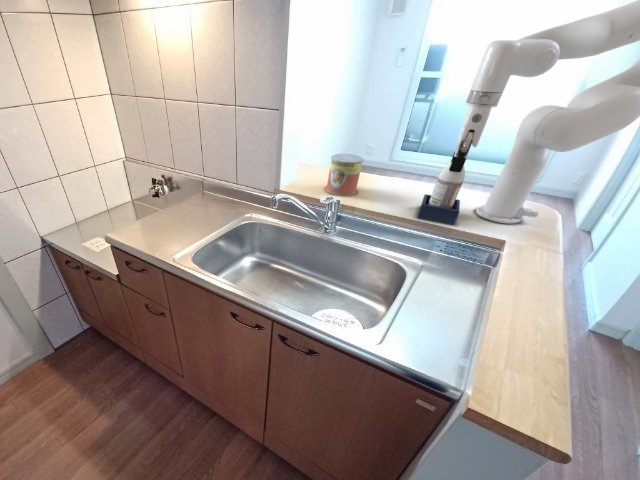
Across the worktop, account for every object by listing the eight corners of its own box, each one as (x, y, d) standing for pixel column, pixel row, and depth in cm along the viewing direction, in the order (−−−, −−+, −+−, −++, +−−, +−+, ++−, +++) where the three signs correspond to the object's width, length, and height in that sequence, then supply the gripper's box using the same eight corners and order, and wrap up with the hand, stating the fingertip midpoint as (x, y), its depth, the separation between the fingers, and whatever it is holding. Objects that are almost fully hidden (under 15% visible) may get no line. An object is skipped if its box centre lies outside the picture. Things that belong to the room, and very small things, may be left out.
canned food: (320, 190, 125) (325, 158, 117) (334, 183, 132) (340, 152, 124) (347, 198, 119) (354, 164, 112) (360, 190, 126) (368, 157, 118)
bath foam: (443, 220, 103) (471, 154, 91) (421, 213, 107) (445, 149, 95) (451, 214, 107) (479, 149, 94) (430, 208, 111) (454, 145, 98)
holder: (454, 212, 109) (459, 199, 106) (453, 224, 102) (459, 211, 99) (420, 206, 113) (424, 194, 110) (417, 217, 106) (422, 204, 103)
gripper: (502, 104, 80) (469, 179, 91) (497, 96, 91) (468, 163, 103) (467, 101, 82) (439, 174, 94) (467, 94, 94) (442, 160, 105)
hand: (455, 168), depth 98 cm, fingers open, 4 cm apart
